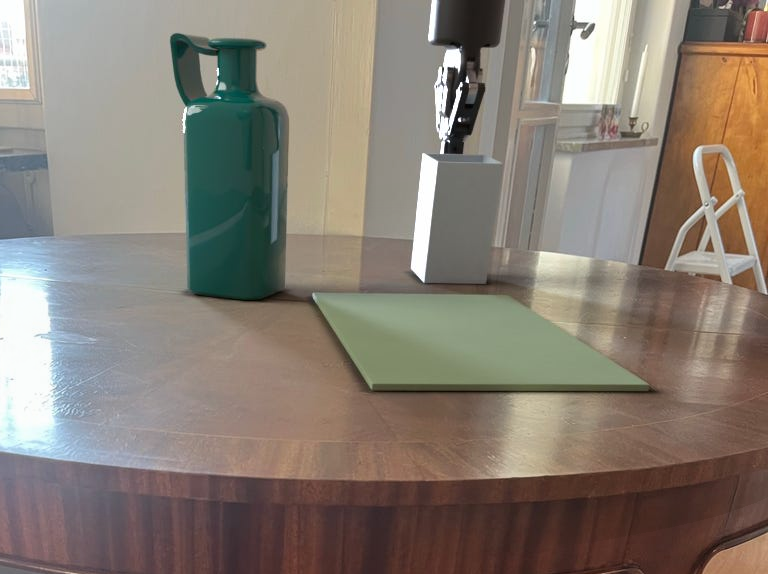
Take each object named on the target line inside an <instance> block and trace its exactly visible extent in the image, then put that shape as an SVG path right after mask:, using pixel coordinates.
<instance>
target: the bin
mask: <svg viewBox="0 0 768 574" xmlns="http://www.w3.org/2000/svg"><path fill="white" fill-rule="evenodd" d="M503 169H504V163H502V162H501V161H498V160H497V159H495V158H492V157H490V156H488V155H486V154H467V153H465V154H464V153H463V154H440V153H430V152H428V153H426V152H423V153H422V158H421V166H420V176H419V177H420V178H419V185H418V186H419V187H418V195H417V205H416V216H415V223H414V224H415V225H414V234H413V235H414V236H413V245H412V253H411V254H412V255H411V262H410V270H412V271H413V273H414V274H415V275H416V277H418V278H419V279H420V280H421V281H422V282H423V284H455V285H456V284H459V285H460V284H463V285H465V284H467V285H468V284H469V285H486V284H487V279H488V272H489V265H490V258H491V253H492V252H491V251H492V245H493V239H494V233H495V232H494V231H495V226H496V225H495V224H496V219H497V217H496V216H497V211H498V205H499V204H498V203H499V197H500V190H501V185H502V184H501V183H502V176H503V171H504V170H503Z"/></svg>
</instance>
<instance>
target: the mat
mask: <svg viewBox="0 0 768 574" xmlns="http://www.w3.org/2000/svg"><path fill="white" fill-rule="evenodd" d="M312 299H313V300H314V302H315V304H316V305H317V306H318V308H319V309H320V311H321V313H322V315H323V316H324V318H325V319H326V321H327V322H328V324H329V325H330V327H331V329H332V331H333V332H334V333H335V335H336V336H337V338H338V340H339V341H340V343H341V345H342V346H343V347H344V349H345V351H346V352H347V354H348V355H349V357H350V358H351V360H352V361H353V363H354V365H355V366H356V367H357V369H358V371H359V373H360V374H361V376H362V377H363V379H364V381H365V382H366V384H367V385H368V387H369V388H370V390H371V391H372V392H373V391H375V392H377V391H381V392H382V391H384V392H385V391H386V392H387V391H388V392H390V391H393V392H394V391H395V392H396V391H397V392H400V391H403V392H404V391H405V392H406V391H407V392H410V391H411V392H412V391H413V392H415V391H416V392H417V391H419V392H422V391H423V392H427V391H429V392H432V391H433V392H649V391H650V386H651V384H649V383H648V382H647V381H645V380H643V379H642V378H640V377H638V375H635V373H632V372H631V371H629V370H628V369H626V368H624V367H623V366H621V365H619V364H618V363H616V362H615V361H613V360H612V359H610V358H608V357H607V356H605V355H603V354H602V353H601V352H599V351H598V350H595V349H594V348H592V347H591V346H590V345H588V344H586V343H585V342H583V341H581V340H579V339H578V338H577V337H575V336H574V335H572V334H570V333H569V332H567V331H565V330H564V329H562V328H560V326H558V325H556V324H554V323H553V322H551V321H550V320H548V319H547V318H545V317H544V316H542V315H540V314H538V313H537V312H535V311H534V310H532V309H530V308H529V307H528V306H525V305H524V304H522V303H521V302H519V301H518V300H516V299H515V298H513V297H512V296H510V295H508V294H463V293H462V294H459V293H458V294H453V293H385V292H384V293H379V292H377V293H373V292H312Z"/></svg>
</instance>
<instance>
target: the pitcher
mask: <svg viewBox="0 0 768 574" xmlns="http://www.w3.org/2000/svg"><path fill="white" fill-rule="evenodd" d="M169 45H170V53H171V62H172V68H173V69H172V70H173V76H174V82H175V86H176V89H177V92H178V94H179V96H180V98H181V100H182V102H183V104H184V105H185V109H184V113H183V119H182V121H183V124H182V125H183V158H184V159H183V163H184V165H183V166H184V198H185V199H184V201H185V202H184V203H185V206H184V208H185V241H186V242H185V245H186V287H187V290H188V291H189V292H190V293H192V294H193V295H197V296H203V297H212V298H222V299H231V300H240V301H258V300H262V299H264V298H267V297H269V296H273V295H274V294H277V293H279V292H282V291H283V290H284V289H285V287H286V265H287V264H286V263H287V262H286V261H287V260H286V259H287V224H288V223H287V222H288V186H289V185H288V181H289V178H288V177H289V176H288V175H289V146H290V145H289V143H290V142H289V141H290V117H289V113H288V110H287V108H286V106H285V105H284V104H283V103H281V102H280V101H279V100H277V99H274V98H270V97H268V96H265V95H263V94H262V92H261V91H260V90H259V87H258V82H257V78H258V77H257V71H258V70H257V69H258V67H257V66H258V64H257V63H258V52H260V51H263V50H265V49H266V48H267V43H266V42H265V41H264V40H261V39H256V38H243V37H242V38H241V37H215V38H208V37H207V36H202V35H197V34H196V35H194V34H187V33H179V32H176V33H175V32H174V33H172V34H171V35H170V38H169ZM200 54H201V55H203V56H209V57H216V58H217V82H216V85H215V88H214V89H213V91H212V92H211V93H209V94H207V92H206V90H205V87H204V83H203V79H202V72H201V61H200Z"/></svg>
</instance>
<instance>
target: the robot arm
mask: <svg viewBox="0 0 768 574" xmlns="http://www.w3.org/2000/svg"><path fill="white" fill-rule="evenodd" d="M505 7H506V0H431V8H430V18H429V29H428V43H429V44H430V45H431V46H434V47H435V46H436V47H444V48H445V50H446V52H445V54H444V61H443V65H442V66H440V67H439V69H438V77H437V80H436V82H435V84H434V96H435V113H436V114H435V116H436V132H437V133H438V134H439V139H440V140H441V143H440V144H441V145H440V153H439V154H464V149H465V142H467V140H468V138H469V136H472V135H473V131H474V128H475V125H476V121H477V118H478V114H479V111H480V108H481V105H482V102H483V99H484V95H485V92H486V83H485V82H483V78H484V77H483V76H484V70H483V68H482V67H481V57H482V56H481V54H482V53H481V51H482V49H494V48H497V47H498V46H499V45H500V44H501V39H502V32H503V31H502V30H503V29H502V28H503V22H504V15H505Z"/></svg>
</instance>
